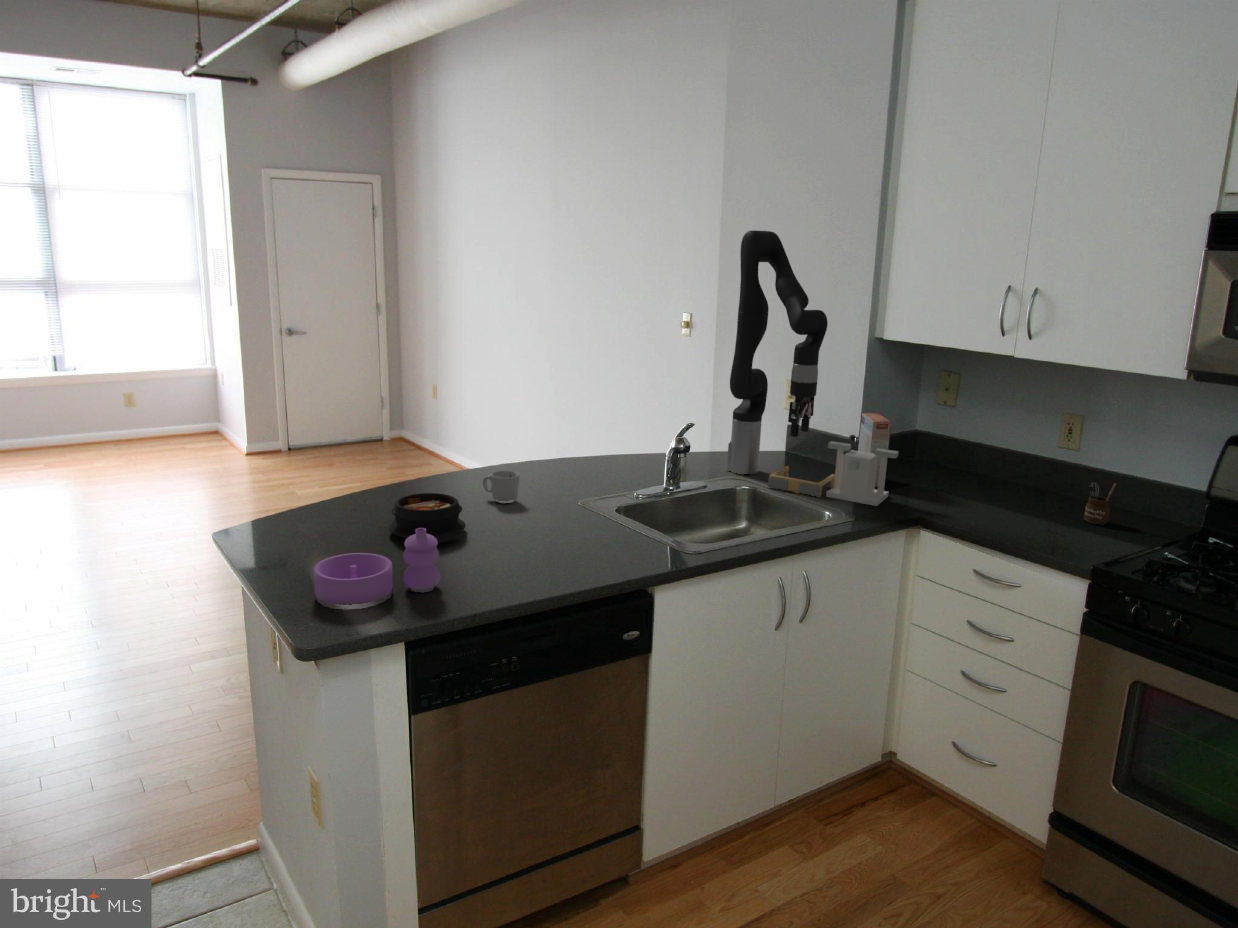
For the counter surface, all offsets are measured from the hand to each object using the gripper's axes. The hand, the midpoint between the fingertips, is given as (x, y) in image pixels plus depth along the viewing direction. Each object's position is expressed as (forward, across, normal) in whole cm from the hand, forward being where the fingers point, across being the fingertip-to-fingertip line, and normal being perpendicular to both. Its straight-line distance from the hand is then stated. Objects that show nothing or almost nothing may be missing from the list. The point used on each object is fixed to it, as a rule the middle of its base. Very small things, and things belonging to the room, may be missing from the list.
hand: (799, 433), depth 263 cm
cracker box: (+18, -26, +15) cm, 35 cm away
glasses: (+18, -6, 0) cm, 19 cm away
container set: (+18, +126, -43) cm, 134 cm away
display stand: (+18, -5, +17) cm, 25 cm away
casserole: (+18, +93, -60) cm, 112 cm away
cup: (+18, +61, -63) cm, 90 cm away
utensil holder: (+18, -24, +79) cm, 85 cm away
